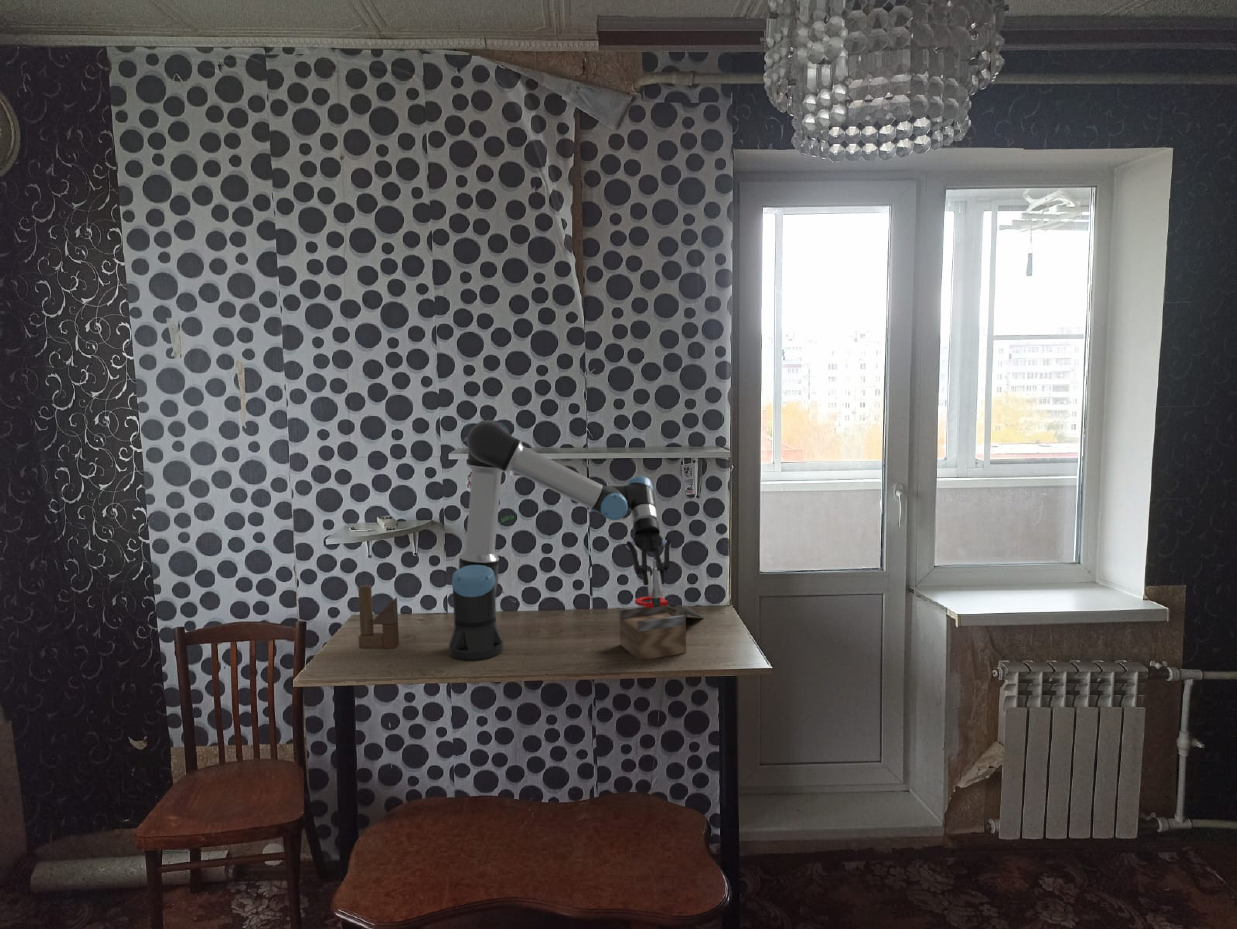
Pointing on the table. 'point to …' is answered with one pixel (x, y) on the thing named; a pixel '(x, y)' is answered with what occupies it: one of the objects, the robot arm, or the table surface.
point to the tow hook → (655, 599)
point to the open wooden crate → (652, 632)
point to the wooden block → (377, 622)
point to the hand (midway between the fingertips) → (655, 594)
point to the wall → (681, 611)
